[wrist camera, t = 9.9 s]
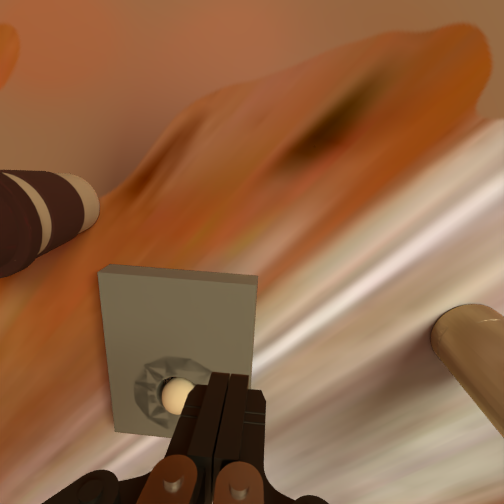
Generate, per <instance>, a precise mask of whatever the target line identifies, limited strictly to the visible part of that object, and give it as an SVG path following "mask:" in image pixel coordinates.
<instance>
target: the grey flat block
mask: <svg viewBox="0 0 504 504" xmlns="http://www.w3.org/2000/svg"><path fill="white" fill-rule="evenodd" d="M97 273H98V282H99V291H100V300H101V310H102V319H103V328H104V337H105V346H106V355H107V364H108V374H109V383H110V392H111V401H112V410H113V419H114V428H115V432H121V433H130V434H139V435H148V436H157V437H166V438H172V436H173V433H174V431H175V428H176V425H177V423H178V420H179V417H180V415H175V414H172V413H170V412H168V411H167V410H166V409H165V407H164V405H163V403H162V392H163V389H164V387H165V385H164V379H167V378H169V377H182V378H186V379H188V380H189V381H191V382H193V383H194V384H196V385H197V384H201V385H208V383H209V379H210V376H211V373H212V372H222V373H230V376H231V373H233V374H243V375H249V387H248V389H251V375H252V359H253V344H254V329H255V314H256V298H257V283H258V276H253V275H241V274H228V273H216V272H203V271H190V270H178V269H165V268H152V267H140V266H127V265H115V264H109V265H108V266H106V267H105V268H103V269H102V270H100V271H99V272H97Z"/></svg>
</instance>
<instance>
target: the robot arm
mask: <svg viewBox="0 0 504 504" xmlns="http://www.w3.org/2000/svg"><path fill="white" fill-rule="evenodd" d="M431 346H432V348H433V351H434V352H435V353H436V355H437V356H438V357H439V358H440V360H441V361H442V362H443V363H444V365H445V366H446V367H447V368H448V370H449V371H450V372H451V374H452V375H453V376H454V377H455V378H456V380H457V381H458V382H459V383H460V385H461V386H462V387H463V388H464V390H465V391H466V392H467V393H468V395H469V396H470V397H471V398H472V399H473V401H474V402H475V403H476V404H477V406H478V407H479V408H480V409H481V411H482V412H483V413H484V414H485V416H486V417H487V418H488V419H489V420H490V422H491V423H492V424H493V425H494V427H495V428H496V429H497V430H498V432H499V433H500V434H501V435H502V437H503V438H504V316H502V315H501V314H500V313H498V312H497V311H495V310H494V309H492V308H490V307H488V306H484V305H480V304H468V305H462V306H459V307H456V308H454V309H452V310H450V311H448V312H447V313H445V314H444V315H443V316H442V317H441V318H440V319H439V320H438V321H437V322H436V324H435V325H434V327H433V330H432V332H431ZM248 387H249V375H243V374H233V373H231V376H230V373H222V372H212V373H211V376H210V379H209V383H208V385H201V384H197V385H196V386H195V387H194V388H193V389H192V390H191V391H190V392H189V393H188V395H187V398H186V401H185V404H184V407H183V409H182V412H181V414H180V417H179V420H178V423H177V425H176V428H175V431H174V433H173V436H172V439H171V442H170V444H169V447H168V450H167V452H166V455H165V457H164V459H162V460H161V461H159V462H158V463H157V464H156V465H155V467H154V468H153V469H152V471H151V472H149V473H147V474H145V475H143V476H140V477H137V478H132V479H128V480H123V481H119V482H118V479H117V477H116V476H115V474H114V473H112V472H110V471H108V470H96V471H93V472H90V473H88V474H85V475H84V476H82V477H81V478H79V479H78V480H76V481H75V482H73V483H72V484H70V485H69V486H67V487H66V488H64V489H63V490H61V491H60V492H58V493H57V494H55V495H54V496H52V497H51V498H49V499H48V500H46V501H45V502H43V503H42V504H212V502H213V504H329V503H327V502H326V501H325V500H323V499H322V498H319V497H317V496H313V495H306V496H302V497H300V498H298V499H297V500H293V499H291V498H289V497H287V496H285V495H283V494H281V493H280V492H278V491H277V490H275V489H274V488H273V487H272V486H271V484H270V483H269V482H268V480H267V478H266V475H265V473H264V439H265V413H266V400H265V398H264V396H263V394H262V391H261V390H252V389H248Z"/></svg>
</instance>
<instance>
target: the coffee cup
mask: <svg viewBox="0 0 504 504" xmlns="http://www.w3.org/2000/svg"><path fill="white" fill-rule="evenodd" d="M99 211H100V205H99V200H98V197H97V194H96V192H95V191H94V189H93V188H92V186H91V185H90V184H89V183H88V182H87V181H85V180H84V179H82V178H80V177H78V176H76V175H73V174H66V173H64V174H63V173H62V174H61V173H51V172H46V171H24V170H0V278H3V277H7V276H10V275H12V274H14V273H17V272H19V271H21V270H23V269H25V268H26V267H28V266H29V265H30V264H31V263H32V262H33V261H34V260H35V258H37V257H39V256H41V255H43V254H45V253H47V252H49V251H51V250H53V249H54V248H56V247H58V246H60V245H62V244H64V243H66V242H68V241H69V240H71V239H73V238H74V237H75V236H76V235H77V234H79V233H81V232H83V231H84V230H86V229H88V228H90V227H91V226H92V225H93V224H94V223H95V222H96V220H97V218H98V215H99Z"/></svg>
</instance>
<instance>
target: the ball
mask: <svg viewBox="0 0 504 504" xmlns="http://www.w3.org/2000/svg"><path fill="white" fill-rule="evenodd" d="M195 386H196V385H195V384H194V383H193V382H191V381H189V380H188V379H186V378H182V377H175V378H173V379H171V380H170V381H169V382H168V383H167V384H166V385H165V387H164V389H163V392H162V403H163V405H164V407H165V409H166V410H167V411H168V412H170V413H172V414H175V415H180V414H181V412H182V409H183V407H184V404H185V401H186V398H187V395H188V393H189V392H190V391H191V390H192V389H193V388H194V387H195Z"/></svg>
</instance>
